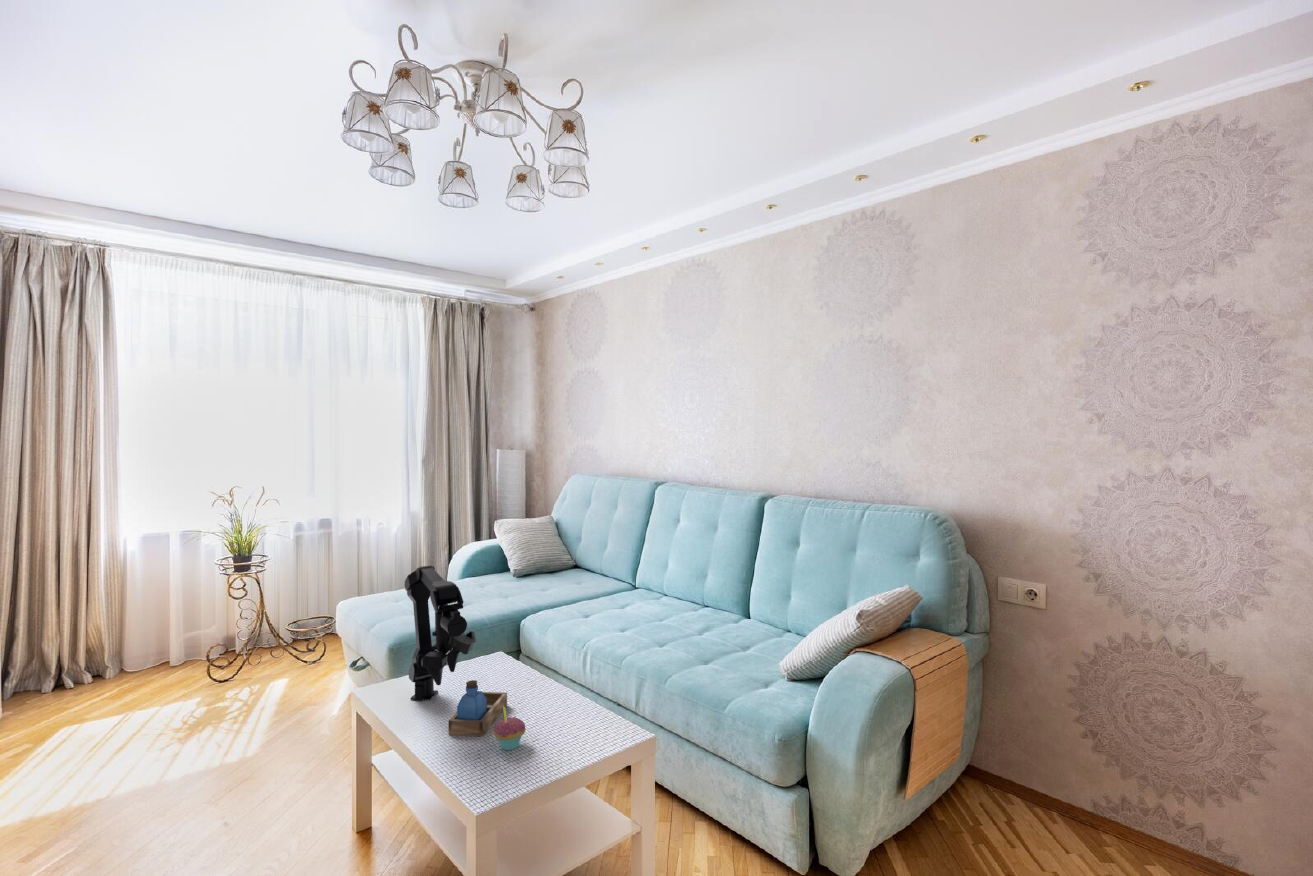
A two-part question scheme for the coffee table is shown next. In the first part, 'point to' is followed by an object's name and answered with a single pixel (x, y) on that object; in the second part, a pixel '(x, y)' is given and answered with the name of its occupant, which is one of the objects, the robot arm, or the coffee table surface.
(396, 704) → the coffee table surface
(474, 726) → the wooden divided tray
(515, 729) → the cupcake
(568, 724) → the coffee table surface
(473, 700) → the perfume bottle
